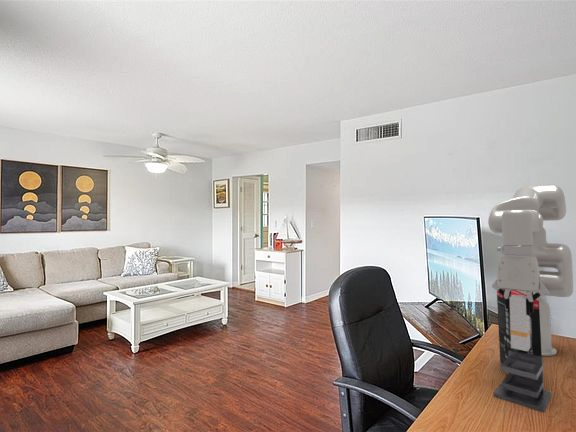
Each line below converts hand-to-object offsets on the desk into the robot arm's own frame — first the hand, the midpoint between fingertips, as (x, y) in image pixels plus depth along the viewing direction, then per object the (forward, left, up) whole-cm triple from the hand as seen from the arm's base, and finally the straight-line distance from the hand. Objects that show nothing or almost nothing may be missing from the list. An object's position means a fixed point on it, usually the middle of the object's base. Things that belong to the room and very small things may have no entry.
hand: (519, 312), depth 99 cm
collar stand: (0, 0, -25) cm, 25 cm away
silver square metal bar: (0, 0, -10) cm, 10 cm away
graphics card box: (-17, -4, -25) cm, 30 cm away
